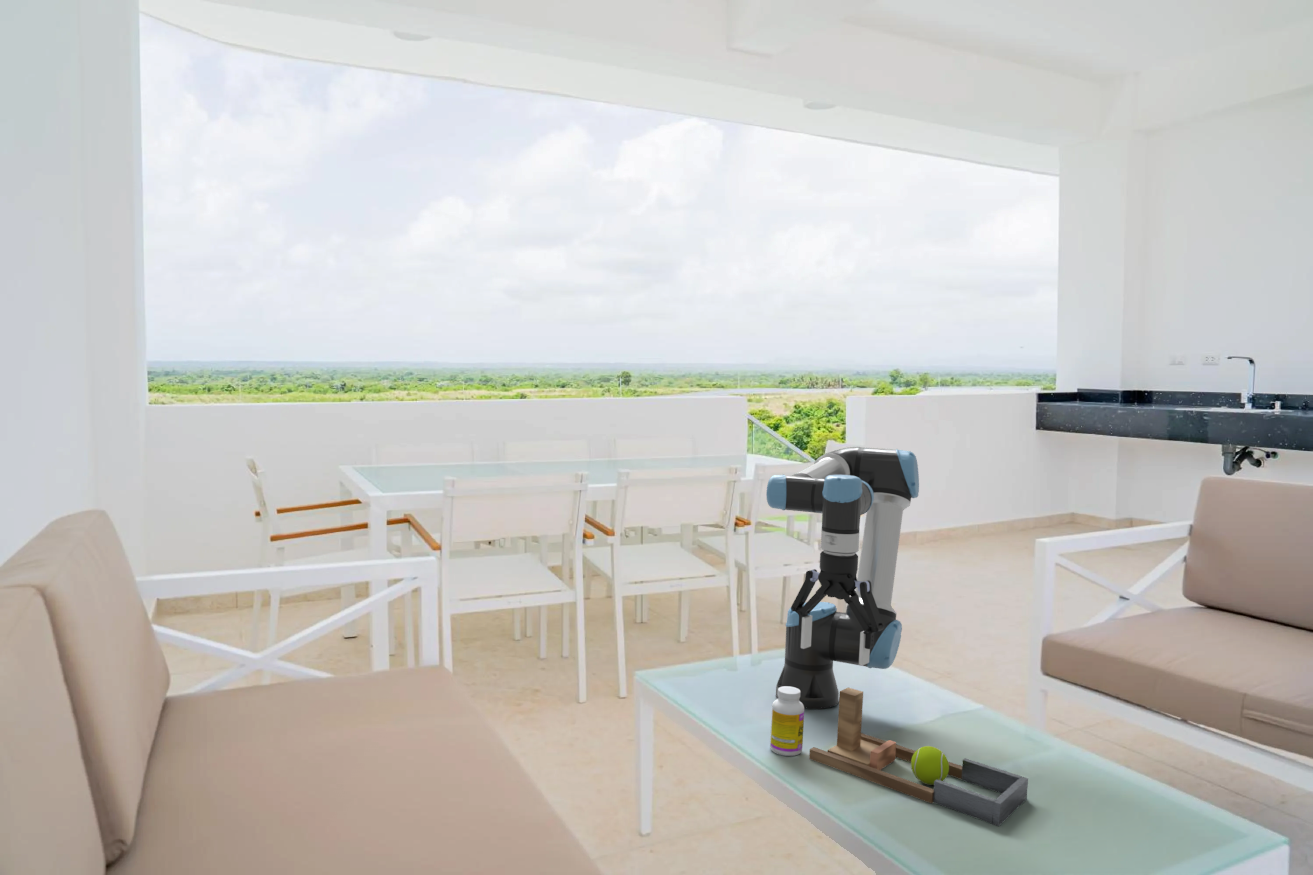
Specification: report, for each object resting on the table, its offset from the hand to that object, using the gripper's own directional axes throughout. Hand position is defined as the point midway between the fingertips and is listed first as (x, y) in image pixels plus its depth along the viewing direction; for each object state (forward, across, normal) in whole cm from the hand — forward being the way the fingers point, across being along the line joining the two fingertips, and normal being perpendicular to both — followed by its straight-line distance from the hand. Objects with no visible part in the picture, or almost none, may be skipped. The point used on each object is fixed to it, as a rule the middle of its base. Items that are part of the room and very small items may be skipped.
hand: (834, 655), depth 175 cm
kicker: (+21, +4, +4) cm, 22 cm away
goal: (+21, +29, +5) cm, 36 cm away
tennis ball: (+22, +19, +5) cm, 29 cm away
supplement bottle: (+22, -8, -4) cm, 23 cm away
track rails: (+21, +10, +5) cm, 24 cm away
